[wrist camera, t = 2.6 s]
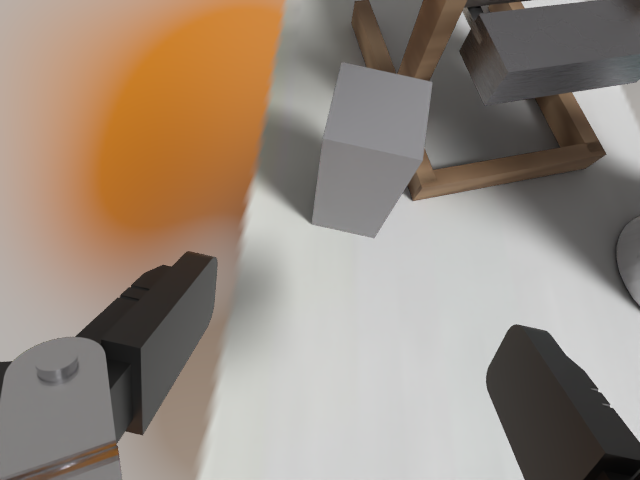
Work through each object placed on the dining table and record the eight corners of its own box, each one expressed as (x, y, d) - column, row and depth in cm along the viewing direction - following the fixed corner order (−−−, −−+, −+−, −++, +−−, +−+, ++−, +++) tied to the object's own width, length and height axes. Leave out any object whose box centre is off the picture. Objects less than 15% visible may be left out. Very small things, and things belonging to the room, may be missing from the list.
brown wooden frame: (585, 168, 28) (765, 45, 18) (413, 200, 26) (496, 84, 15) (499, 6, 34) (595, -163, 23) (351, 22, 32) (381, -155, 21)
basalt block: (383, 182, 27) (432, 81, 17) (374, 238, 25) (422, 160, 16) (324, 169, 27) (341, 61, 17) (311, 224, 25) (322, 138, 16)
